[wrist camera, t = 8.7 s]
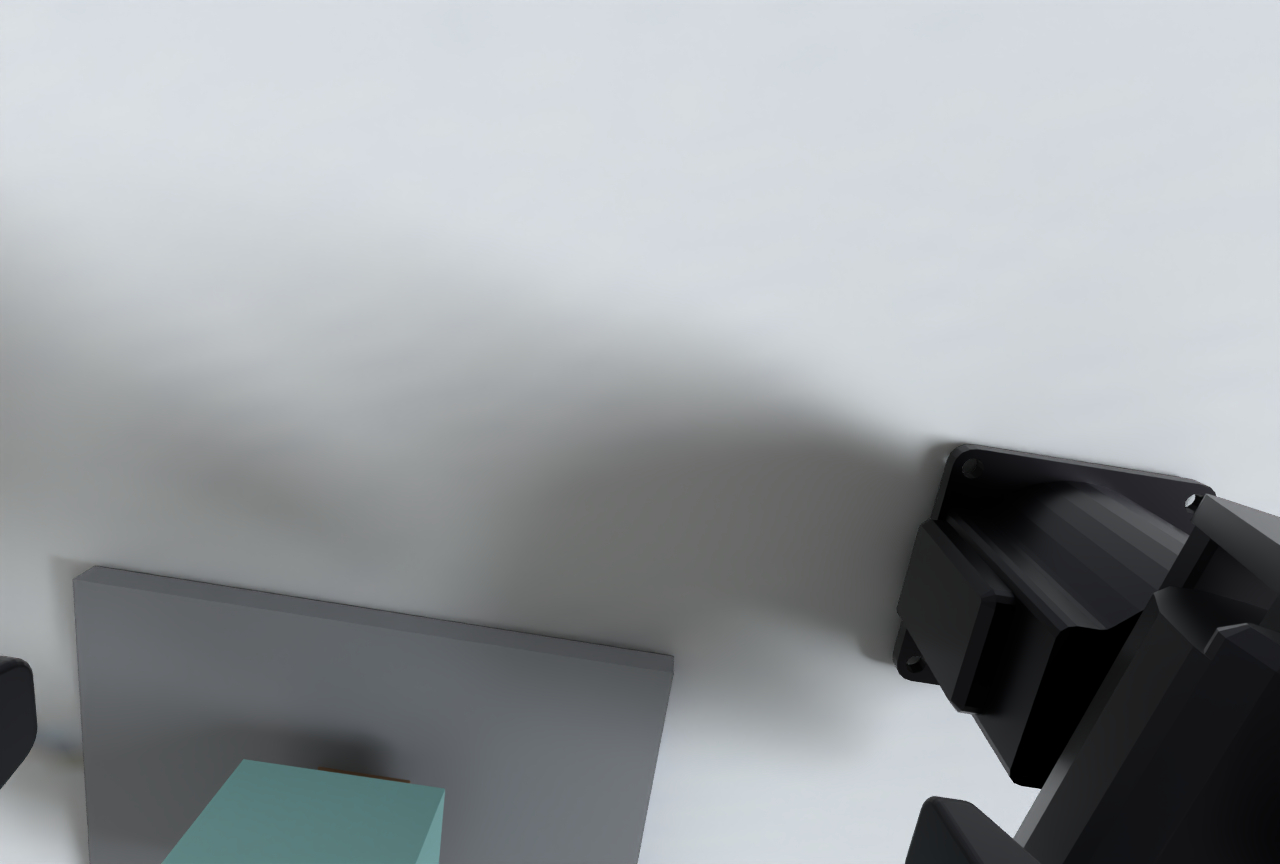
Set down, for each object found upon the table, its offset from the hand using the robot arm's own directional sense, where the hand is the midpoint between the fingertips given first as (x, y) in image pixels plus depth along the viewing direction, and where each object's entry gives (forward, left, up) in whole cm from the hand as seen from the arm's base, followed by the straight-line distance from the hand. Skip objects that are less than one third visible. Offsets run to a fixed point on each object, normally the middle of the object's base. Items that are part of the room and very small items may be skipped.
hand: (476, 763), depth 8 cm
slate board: (+5, +19, -12) cm, 23 cm away
